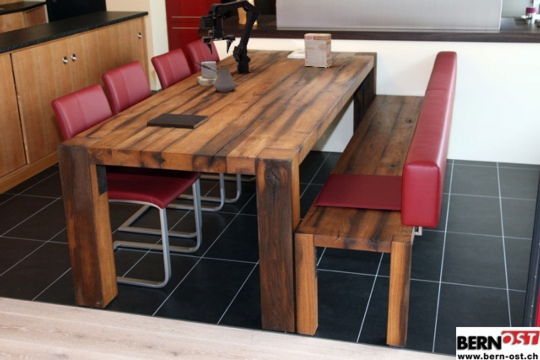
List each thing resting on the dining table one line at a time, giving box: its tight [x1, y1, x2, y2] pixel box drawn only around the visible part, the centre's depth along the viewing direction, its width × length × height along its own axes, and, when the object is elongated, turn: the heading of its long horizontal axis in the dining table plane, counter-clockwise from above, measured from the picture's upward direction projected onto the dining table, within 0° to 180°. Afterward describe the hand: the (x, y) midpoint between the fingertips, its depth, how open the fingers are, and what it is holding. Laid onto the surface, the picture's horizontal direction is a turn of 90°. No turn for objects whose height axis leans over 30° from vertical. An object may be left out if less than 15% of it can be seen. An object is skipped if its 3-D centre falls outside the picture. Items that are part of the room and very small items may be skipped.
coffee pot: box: [194, 62, 237, 93], centre depth 371 cm, size 21×12×15 cm, turn 79°
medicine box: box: [200, 61, 218, 78], centre depth 390 cm, size 8×4×9 cm, turn 85°
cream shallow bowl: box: [196, 75, 217, 87], centre depth 392 cm, size 12×12×3 cm
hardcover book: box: [146, 112, 209, 130], centre depth 314 cm, size 16×23×2 cm
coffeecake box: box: [304, 32, 332, 69], centre depth 422 cm, size 15×7×20 cm, turn 58°
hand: (219, 54), depth 404 cm, fingers open, 9 cm apart
